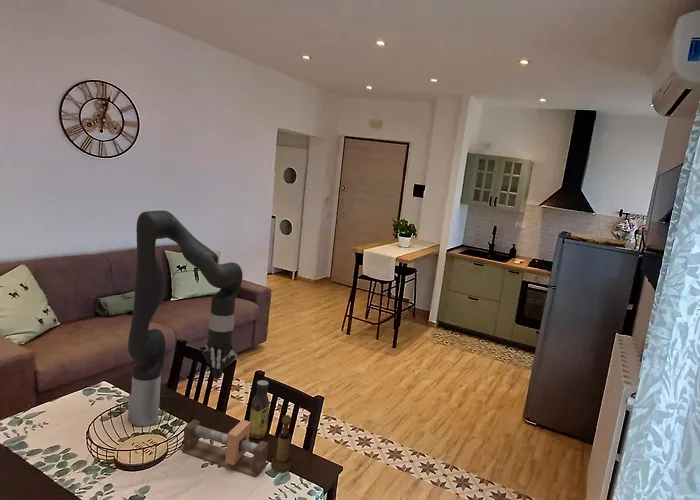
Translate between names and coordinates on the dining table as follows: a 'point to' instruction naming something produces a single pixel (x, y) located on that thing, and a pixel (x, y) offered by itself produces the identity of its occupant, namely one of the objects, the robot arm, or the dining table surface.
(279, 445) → the wooden pepper mill
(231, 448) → the collar
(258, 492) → the dining table surface
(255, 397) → the sauce bottle
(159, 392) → the robot arm
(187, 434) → the pipe stand
